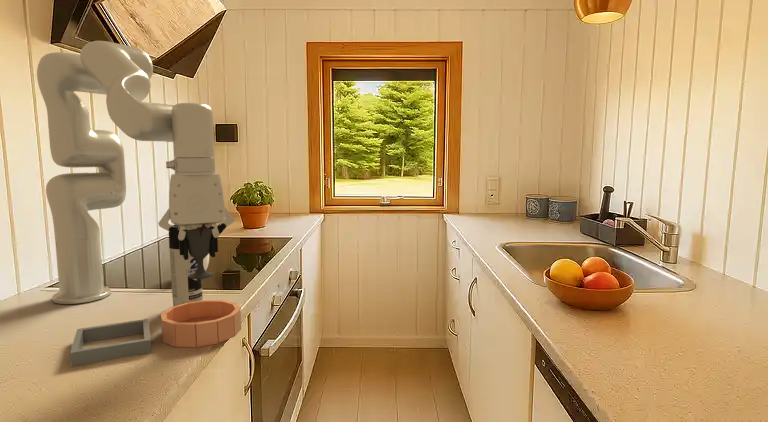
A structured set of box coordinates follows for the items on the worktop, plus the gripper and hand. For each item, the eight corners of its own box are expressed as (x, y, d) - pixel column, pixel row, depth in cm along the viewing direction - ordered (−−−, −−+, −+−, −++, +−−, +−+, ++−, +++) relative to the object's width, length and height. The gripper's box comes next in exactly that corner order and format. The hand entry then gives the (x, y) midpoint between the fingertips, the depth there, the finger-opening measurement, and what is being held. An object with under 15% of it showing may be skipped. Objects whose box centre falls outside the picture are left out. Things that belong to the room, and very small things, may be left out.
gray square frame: (78, 341, 93) (77, 329, 92) (148, 330, 99) (148, 318, 98) (71, 366, 82) (70, 352, 81) (151, 352, 88) (150, 339, 87)
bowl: (160, 326, 101) (159, 306, 100) (232, 315, 108) (232, 296, 107) (165, 352, 88) (163, 329, 87) (246, 338, 95) (246, 316, 94)
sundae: (185, 282, 92) (179, 205, 90) (182, 274, 98) (177, 202, 96) (220, 277, 95) (216, 203, 93) (215, 270, 101) (211, 200, 99)
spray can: (192, 313, 109) (188, 228, 106) (166, 311, 110) (161, 226, 108) (208, 304, 115) (205, 223, 113) (183, 302, 117) (179, 222, 114)
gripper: (148, 168, 86) (154, 265, 88) (242, 167, 94) (245, 256, 96) (147, 167, 93) (152, 257, 95) (235, 166, 101) (238, 250, 103)
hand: (199, 256), depth 96 cm, fingers closed on sundae, 4 cm apart
